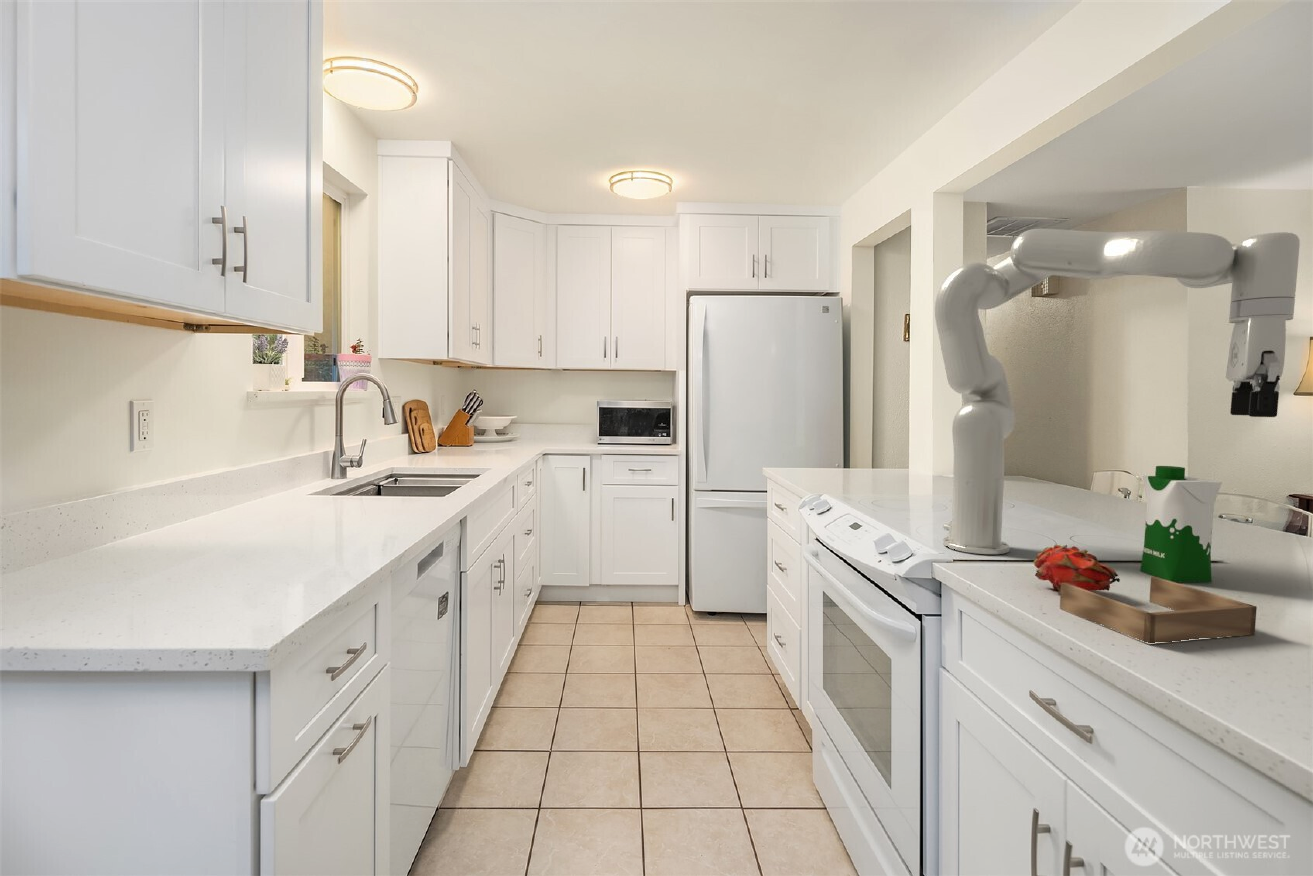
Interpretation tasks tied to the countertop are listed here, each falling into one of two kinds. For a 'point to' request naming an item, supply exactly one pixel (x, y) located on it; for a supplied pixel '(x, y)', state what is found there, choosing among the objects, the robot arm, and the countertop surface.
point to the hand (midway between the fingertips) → (1252, 415)
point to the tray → (1165, 613)
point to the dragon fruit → (1073, 569)
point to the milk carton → (1178, 525)
